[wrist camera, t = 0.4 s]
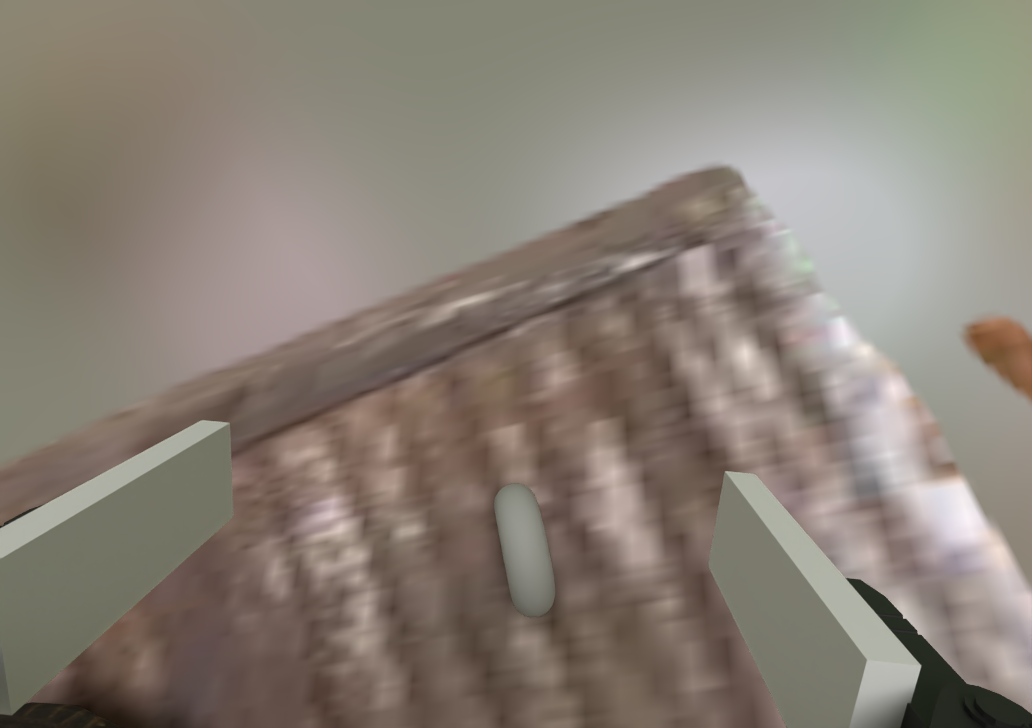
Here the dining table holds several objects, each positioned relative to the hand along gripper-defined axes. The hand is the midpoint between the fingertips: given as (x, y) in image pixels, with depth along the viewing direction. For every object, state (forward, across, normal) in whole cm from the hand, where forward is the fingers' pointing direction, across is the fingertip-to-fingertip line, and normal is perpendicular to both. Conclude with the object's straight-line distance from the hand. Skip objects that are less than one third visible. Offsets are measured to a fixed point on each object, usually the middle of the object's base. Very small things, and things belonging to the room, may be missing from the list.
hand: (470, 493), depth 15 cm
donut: (+30, -2, +20) cm, 36 cm away
